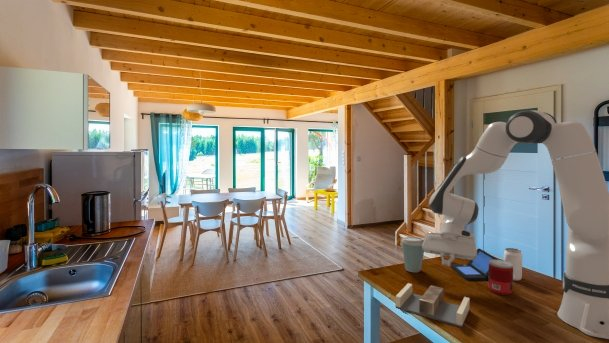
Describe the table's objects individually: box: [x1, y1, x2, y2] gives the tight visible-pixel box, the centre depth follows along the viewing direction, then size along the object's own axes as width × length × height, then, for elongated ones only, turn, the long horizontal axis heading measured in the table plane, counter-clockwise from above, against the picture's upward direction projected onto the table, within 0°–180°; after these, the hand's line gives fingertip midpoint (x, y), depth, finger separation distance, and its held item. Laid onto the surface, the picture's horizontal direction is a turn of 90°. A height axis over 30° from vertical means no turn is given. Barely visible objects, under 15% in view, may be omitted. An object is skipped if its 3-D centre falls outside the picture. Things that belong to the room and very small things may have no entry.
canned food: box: [487, 259, 514, 296], centre depth 120 cm, size 8×8×11 cm
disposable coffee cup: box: [401, 236, 425, 273], centre depth 142 cm, size 11×11×15 cm
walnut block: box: [419, 284, 444, 315], centre depth 109 cm, size 4×4×14 cm
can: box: [503, 247, 523, 281], centre depth 132 cm, size 6×6×12 cm
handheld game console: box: [450, 248, 499, 281], centre depth 138 cm, size 16×13×9 cm
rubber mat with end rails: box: [395, 282, 471, 328], centre depth 107 cm, size 21×13×4 cm, turn 53°
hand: (445, 264), depth 123 cm, fingers closed
